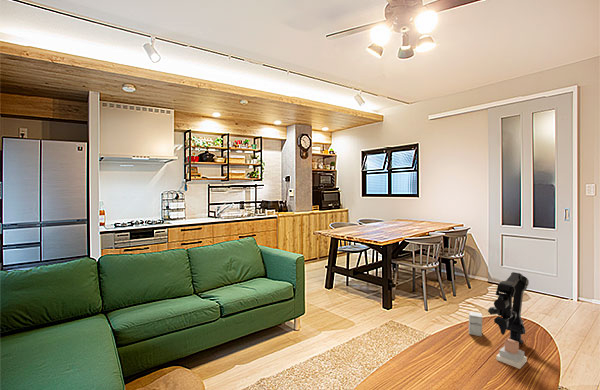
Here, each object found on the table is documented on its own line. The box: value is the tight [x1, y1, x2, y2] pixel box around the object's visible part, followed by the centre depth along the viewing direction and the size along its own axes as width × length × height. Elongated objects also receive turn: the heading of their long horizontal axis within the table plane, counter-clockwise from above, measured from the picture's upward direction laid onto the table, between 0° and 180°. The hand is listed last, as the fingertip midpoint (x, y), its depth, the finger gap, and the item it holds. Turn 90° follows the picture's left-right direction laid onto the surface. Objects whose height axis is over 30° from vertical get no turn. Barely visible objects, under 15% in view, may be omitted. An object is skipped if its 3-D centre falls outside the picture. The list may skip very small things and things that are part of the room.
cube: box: [504, 337, 520, 354], centre depth 172 cm, size 5×5×5 cm
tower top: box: [498, 345, 525, 363], centre depth 172 cm, size 9×9×3 cm
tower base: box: [495, 353, 528, 370], centre depth 172 cm, size 11×11×3 cm
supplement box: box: [468, 311, 483, 337], centre depth 203 cm, size 7×7×13 cm
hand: (505, 331), depth 180 cm, fingers open, 9 cm apart
